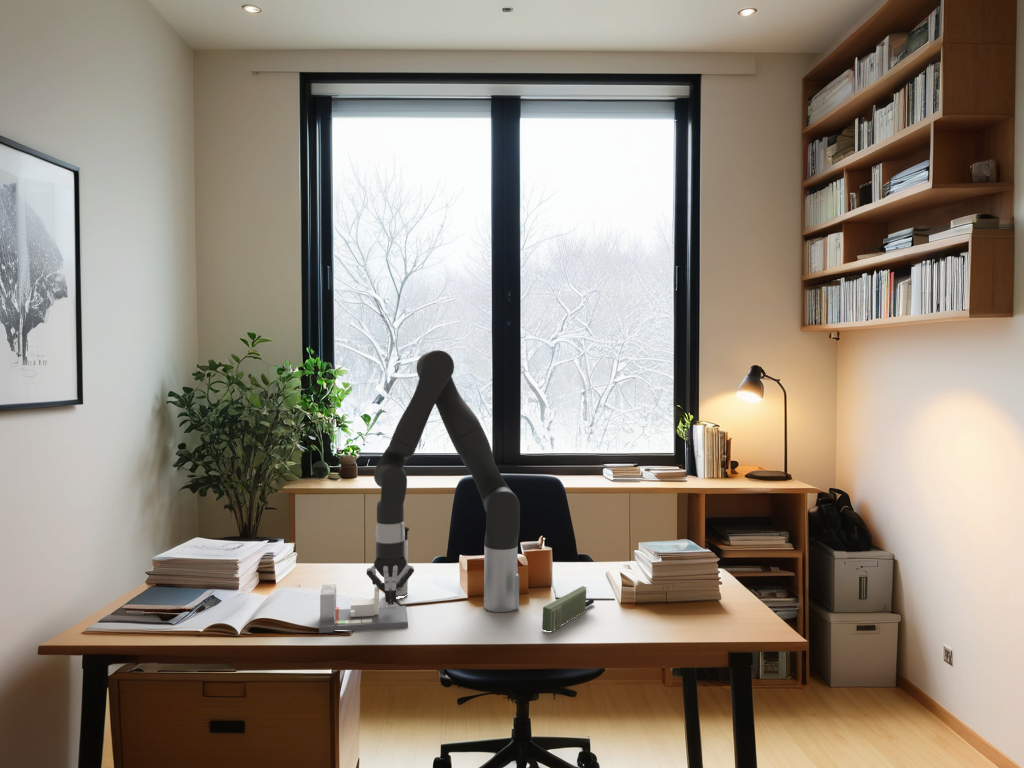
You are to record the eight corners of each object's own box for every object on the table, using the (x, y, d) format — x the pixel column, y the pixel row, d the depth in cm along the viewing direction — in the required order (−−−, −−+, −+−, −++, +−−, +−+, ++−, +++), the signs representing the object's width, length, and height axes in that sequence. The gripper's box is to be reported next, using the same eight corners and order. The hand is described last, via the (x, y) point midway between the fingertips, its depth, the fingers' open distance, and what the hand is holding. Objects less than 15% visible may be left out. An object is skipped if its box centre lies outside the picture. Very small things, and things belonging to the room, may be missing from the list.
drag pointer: (338, 618, 180) (338, 607, 180) (338, 624, 176) (338, 612, 176) (335, 618, 180) (335, 607, 180) (334, 624, 176) (334, 612, 176)
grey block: (336, 610, 187) (336, 584, 187) (334, 621, 179) (334, 594, 179) (322, 611, 186) (322, 584, 186) (320, 622, 178) (320, 594, 178)
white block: (379, 608, 188) (379, 584, 188) (379, 618, 180) (379, 593, 180) (351, 609, 187) (351, 585, 186) (350, 620, 179) (350, 594, 179)
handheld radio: (539, 631, 178) (586, 604, 198) (550, 635, 176) (596, 606, 197) (540, 605, 177) (587, 580, 198) (552, 609, 176) (597, 583, 196)
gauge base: (406, 611, 191) (406, 604, 191) (407, 627, 179) (408, 620, 179) (322, 615, 187) (322, 609, 187) (319, 633, 175) (319, 626, 175)
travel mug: (404, 600, 199) (404, 530, 199) (382, 598, 201) (382, 529, 200) (411, 593, 206) (412, 525, 205) (390, 591, 207) (390, 524, 206)
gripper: (414, 534, 190) (414, 597, 190) (365, 536, 187) (365, 600, 188) (416, 541, 182) (416, 606, 183) (364, 543, 180) (364, 609, 181)
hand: (390, 603), depth 185 cm, fingers closed
